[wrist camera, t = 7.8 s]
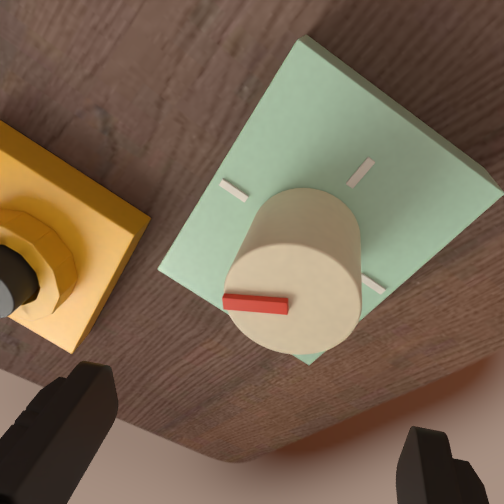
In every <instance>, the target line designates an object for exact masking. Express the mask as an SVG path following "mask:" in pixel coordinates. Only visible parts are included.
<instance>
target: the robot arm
mask: <svg viewBox="0 0 504 504" xmlns="http://www.w3.org/2000/svg"><path fill="white" fill-rule="evenodd" d="M117 411H118V398H117V393H116V388H115V383H114V378H113V373H112V369H111V367H110V366H108V365H103V364H98V363H93V362H87V361H82V362H80V363H79V364H78V365H77V366H76V367H75V368H74V369H73V371H72V372H71V373H70V375H69V376H68V377H67V378H63V377H58V378H57V379H56V380H54V381H53V382H51V383H50V384H48V385H47V386H46V387H44V388H43V389H41V390H40V391H39V392H38V394H37V395H36V396H35V397H34V399H33V400H32V401H31V402H30V403H29V405H28V406H27V407H26V410H25V411H23V412H22V413H21V415H19V417H18V418H17V419H16V420H15V423H14V425H11V426H10V428H9V429H8V430H7V431H6V432H5V434H4V435H3V436H2V437H1V439H0V504H67V502H68V501H69V499H70V497H71V495H72V494H73V492H74V490H75V489H76V487H77V485H78V483H79V481H80V480H81V478H82V476H83V475H84V473H85V471H86V470H87V468H88V466H89V464H90V463H91V461H92V459H93V457H94V456H95V454H96V452H97V451H98V449H99V447H100V445H101V444H102V442H103V440H104V439H105V437H106V435H107V433H108V432H109V430H110V428H111V427H112V425H113V423H114V421H115V418H116V415H117ZM396 490H397V501H398V504H489V502H488V498H487V495H486V491H485V487H484V485H483V483H482V482H481V480H480V479H479V477H478V475H477V474H476V472H475V471H474V469H473V468H472V466H471V465H470V463H469V462H468V461H463V460H458V459H453V458H452V453H451V449H450V444H449V440H448V437H447V435H446V434H445V433H444V432H441V431H436V430H430V429H425V428H420V427H415V426H412V427H411V428H410V430H409V433H408V436H407V439H406V441H405V444H404V447H403V450H402V452H401V455H400V458H399V461H398V465H397V471H396Z"/></svg>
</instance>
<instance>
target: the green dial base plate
mask: <svg viewBox="0 0 504 504" xmlns="http://www.w3.org/2000/svg"><path fill="white" fill-rule="evenodd" d="M294 188H312V189H317V190H321V191H324V192H327V193H329V194H331V195H333V196H335V197H336V198H338V199H340V200H341V201H342V202H343V203H344V204H346V206H347V207H348V208H349V209H350V210H351V211H352V213H353V214H354V216H355V218H356V220H357V222H358V225H359V229H360V237H361V279H362V311H361V316H360V319H359V321H360V320H361V319H363V318H364V317H365V316H366V315H367V314H368V313H369V312H371V311H372V310H373V309H374V308H375V307H376V306H377V305H379V304H380V303H381V302H382V301H383V300H384V299H385V298H386V297H388V296H389V295H390V294H391V293H392V292H393V291H394V290H396V289H397V288H398V287H399V286H400V285H401V284H402V283H404V282H405V281H406V280H407V279H408V278H409V277H410V276H412V275H413V274H414V273H415V272H416V271H417V270H418V269H420V268H421V267H422V266H423V265H424V264H425V263H426V262H428V261H429V260H430V259H431V258H432V257H433V256H434V255H435V254H437V253H438V252H439V251H440V250H441V249H442V248H443V247H445V246H446V245H447V244H448V243H449V242H450V241H451V240H453V239H454V238H455V237H456V236H457V235H458V234H459V233H461V232H462V231H463V230H464V229H465V228H466V227H467V226H469V225H470V224H471V223H472V222H473V221H474V220H475V219H477V218H478V217H479V216H480V215H481V214H482V213H483V212H484V211H486V210H487V209H488V208H489V207H490V206H491V205H492V204H494V203H495V202H496V201H497V200H498V199H499V198H500V197H502V196H503V195H504V192H503V190H502V189H501V188H500V187H499V185H498V184H497V183H496V182H495V181H494V179H493V178H492V177H491V176H490V174H489V173H488V172H487V171H486V169H485V168H484V167H482V166H481V165H480V164H478V163H477V162H476V161H474V160H473V159H472V158H470V157H469V156H468V155H466V154H465V153H464V152H462V151H461V150H460V149H458V148H457V147H456V146H454V145H453V144H452V143H450V142H449V141H448V140H446V139H445V138H444V137H442V136H441V135H440V134H438V133H437V132H436V131H434V130H433V129H432V128H430V127H429V126H428V125H426V124H425V123H424V122H422V121H421V120H420V119H418V118H417V117H416V116H414V115H413V114H412V113H410V112H409V111H408V110H406V109H405V108H404V107H402V106H401V105H400V104H398V103H397V102H396V101H394V100H393V99H392V98H390V97H389V96H388V95H386V94H385V93H384V92H383V91H381V90H380V89H379V88H377V87H376V86H375V85H373V84H372V83H371V82H369V81H368V80H367V79H365V78H364V77H363V76H361V75H360V74H359V73H357V72H356V71H355V70H353V69H352V68H351V67H349V66H348V65H347V64H345V63H344V62H343V61H341V60H340V59H339V58H337V57H336V56H335V55H333V54H332V53H331V52H329V51H328V50H327V49H325V48H324V47H323V46H321V45H320V44H319V43H317V42H316V41H315V40H313V39H312V38H311V37H309V36H308V35H304V36H303V37H301V38H299V39H297V41H296V42H295V44H294V46H293V47H292V49H291V51H290V52H289V54H288V55H287V57H286V59H285V60H284V62H283V64H282V65H281V67H280V69H279V70H278V72H277V73H276V75H275V77H274V78H273V80H272V82H271V83H270V85H269V87H268V88H267V90H266V92H265V93H264V95H263V96H262V98H261V100H260V101H259V103H258V105H257V106H256V108H255V110H254V111H253V113H252V115H251V116H250V118H249V119H248V121H247V123H246V124H245V126H244V128H243V129H242V131H241V133H240V134H239V136H238V138H237V139H236V141H235V142H234V144H233V146H232V147H231V149H230V151H229V152H228V154H227V156H226V157H225V159H224V160H223V162H222V164H221V165H220V167H219V169H218V170H217V172H216V174H215V175H214V177H213V179H212V180H211V182H210V183H209V185H208V187H207V188H206V190H205V192H204V193H203V195H202V197H201V198H200V200H199V202H198V203H197V205H196V206H195V208H194V210H193V211H192V213H191V215H190V216H189V218H188V220H187V221H186V223H185V225H184V226H183V228H182V229H181V231H180V233H179V234H178V236H177V238H176V239H175V241H174V243H173V244H172V246H171V247H170V249H169V251H168V252H167V254H166V256H165V257H164V259H163V261H162V262H161V264H160V266H159V267H158V270H159V271H161V272H162V273H164V274H165V275H167V276H169V277H170V278H172V279H173V280H175V281H176V282H178V283H180V284H181V285H183V286H184V287H186V288H188V289H189V290H191V291H192V292H194V293H195V294H197V295H199V296H200V297H202V298H203V299H205V300H207V301H208V302H210V303H211V304H213V305H214V306H216V307H218V308H219V309H221V310H222V311H224V312H225V313H227V314H229V313H228V311H227V310H224V309H223V302H222V297H223V294H224V283H225V279H226V276H227V274H228V272H229V270H230V267H231V265H232V263H233V261H234V259H235V257H236V255H237V253H238V251H239V249H240V247H241V244H242V242H243V240H244V238H245V236H246V234H247V232H248V230H249V228H250V226H251V224H252V222H253V219H254V217H255V215H256V213H257V212H258V210H259V209H260V207H261V206H262V205H263V204H264V203H265V202H266V201H267V200H268V199H269V198H271V197H273V196H274V195H276V194H278V193H280V192H282V191H286V190H289V189H294ZM324 352H325V351H323V352H319V353H314V354H305V355H296V354H292V355H293V356H295V357H297V358H298V359H300V360H301V361H303V362H305V363H306V364H308V365H310V364H311V363H312V362H314V361H315V360H316V359H317V358H318V357H319V356H320V355H322V354H323V353H324Z"/></svg>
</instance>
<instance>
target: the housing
mask: <svg viewBox="0 0 504 504" xmlns="http://www.w3.org/2000/svg"><path fill="white" fill-rule="evenodd" d="M150 220H151V218H150V217H149V216H147V215H146V214H144V213H143V212H141V211H140V210H138V209H137V208H135V207H134V206H132V205H131V204H129V203H127V202H126V201H124V200H123V199H121V198H120V197H118V196H117V195H115V194H114V193H112V192H110V191H109V190H107V189H106V188H104V187H103V186H101V185H100V184H98V183H97V182H95V181H94V180H92V179H90V178H89V177H87V176H86V175H84V174H83V173H81V172H80V171H78V170H77V169H75V168H73V167H72V166H70V165H69V164H67V163H66V162H64V161H63V160H61V159H60V158H58V157H57V156H55V155H53V154H52V153H50V152H49V151H47V150H46V149H44V148H43V147H41V146H40V145H38V144H36V143H35V142H33V141H32V140H30V139H29V138H27V137H26V136H24V135H23V134H21V133H20V132H18V131H16V130H15V129H13V128H12V127H10V126H9V125H7V124H6V123H4V122H3V121H1V120H0V245H5V246H7V247H9V248H11V249H12V250H14V251H16V252H17V253H19V254H20V255H22V256H23V257H24V259H25V260H26V261H27V262H28V263H29V265H30V266H31V267H32V268H33V269H34V271H35V272H36V275H37V278H38V288H37V290H36V292H35V293H34V294H33V295H32V296H31V297H30V298H28V299H27V300H26V301H25V302H24V303H23V304H22V305H21V306H20V307H18V308H17V309H16V310H15V311H14V312H13V313H12V314H10V315H9V316H8V317H10V318H11V319H13V320H15V321H16V322H18V323H20V324H22V325H23V326H25V327H27V328H28V329H30V330H32V331H33V332H35V333H37V334H39V335H40V336H42V337H44V338H45V339H47V340H49V341H51V342H52V343H54V344H56V345H57V346H59V347H61V348H62V349H64V350H66V351H68V352H69V353H71V354H72V353H73V352H74V351H75V350H76V349H77V348H78V346H79V345H80V344H81V343H82V341H83V340H84V339H85V338H86V337H87V335H88V334H89V333H90V331H91V329H92V327H93V325H94V323H95V321H96V320H97V318H98V316H99V314H100V312H101V310H102V309H103V307H104V305H105V303H106V301H107V299H108V297H109V296H110V294H111V292H112V290H113V288H114V286H115V285H116V283H117V281H118V279H119V277H120V275H121V273H122V272H123V270H124V268H125V266H126V264H127V262H128V260H129V259H130V257H131V255H132V253H133V251H134V249H135V248H136V246H137V244H138V242H139V240H140V238H141V236H142V235H143V233H144V231H145V229H146V227H147V225H148V224H149V222H150Z"/></svg>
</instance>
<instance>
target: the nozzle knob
mask: <svg viewBox="0 0 504 504" xmlns="http://www.w3.org/2000/svg"><path fill="white" fill-rule="evenodd" d="M222 302H223V309H224V310H227V311H228V313H229V315H230V317H231V319H232V320H233V322H234V323H235V325H236V326H237V327H238V328H239V329H240V330H241V331H242V332H243V333H244V334H245V335H246V336H247V337H249V338H250V339H251V340H253V341H254V342H256V343H258V344H260V345H262V346H264V347H266V348H268V349H271V350H274V351H277V352H281V353H287V354H296V355H305V354H314V353H319V352H323V351H326V350H328V349H331V348H333V347H335V346H337V345H338V344H340V343H341V342H343V341H344V340H345V339H346V338H347V337H348V336H349V335H350V334H351V333H352V332H353V330H354V329H355V327H356V325H357V324H358V322H359V319H360V316H361V311H362V279H361V237H360V229H359V225H358V222H357V220H356V218H355V216H354V214H353V213H352V211H351V210H350V209H349V208H348V207H347V206H346V204H344V203H343V202H342V201H341V200H340V199H338V198H336V197H335V196H333V195H331V194H329V193H327V192H324V191H321V190H317V189H312V188H294V189H289V190H286V191H282V192H280V193H278V194H276V195H274V196H273V197H271V198H269V199H268V200H267V201H266V202H265V203H264V204H263V205H262V206H261V207H260V209H259V210H258V212H257V213H256V215H255V217H254V219H253V222H252V224H251V226H250V228H249V230H248V232H247V234H246V236H245V238H244V240H243V242H242V244H241V247H240V249H239V251H238V253H237V255H236V257H235V259H234V261H233V263H232V265H231V267H230V270H229V272H228V274H227V276H226V279H225V283H224V294H223V297H222Z"/></svg>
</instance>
